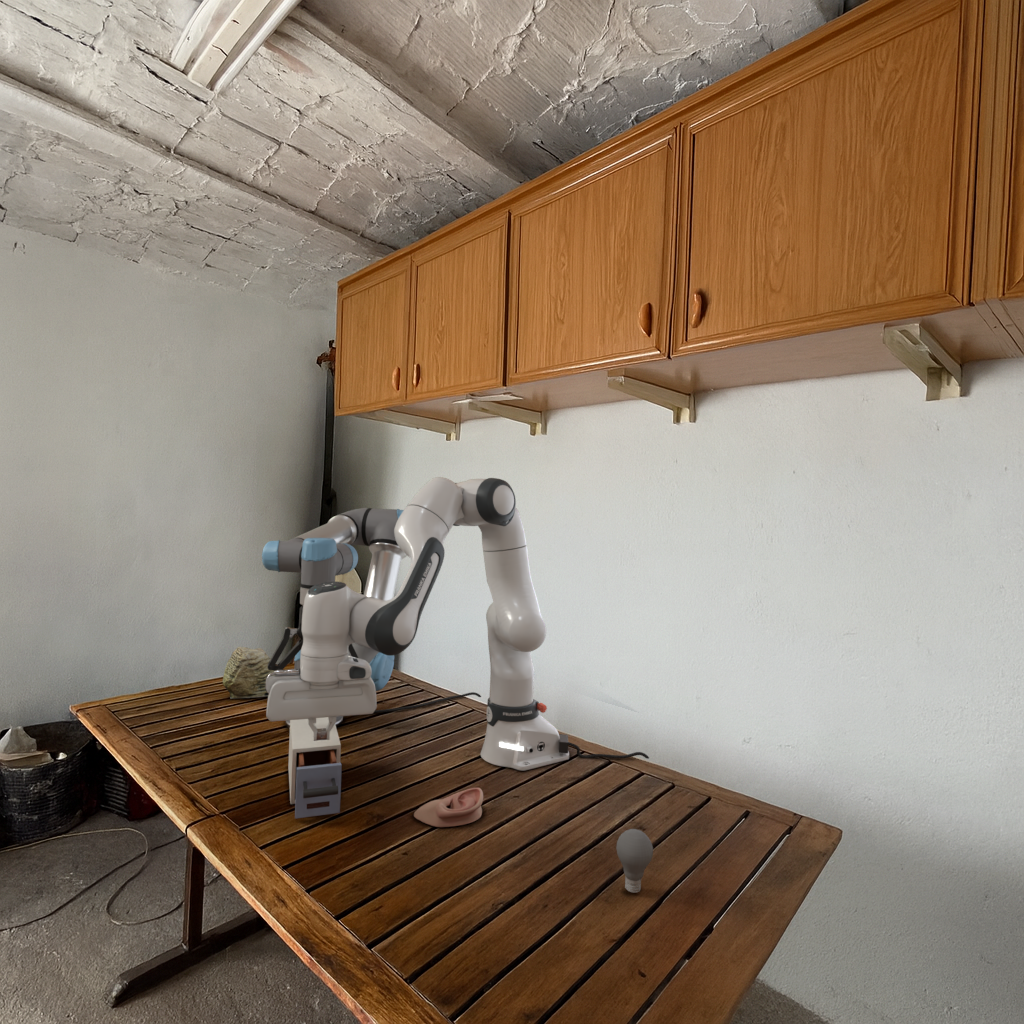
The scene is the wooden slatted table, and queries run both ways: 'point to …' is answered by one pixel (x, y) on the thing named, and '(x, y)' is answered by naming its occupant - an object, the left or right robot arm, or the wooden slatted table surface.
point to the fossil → (247, 673)
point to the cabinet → (308, 746)
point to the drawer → (317, 783)
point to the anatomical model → (452, 809)
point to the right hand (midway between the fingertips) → (321, 739)
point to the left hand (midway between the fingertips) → (313, 697)
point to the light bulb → (634, 857)
